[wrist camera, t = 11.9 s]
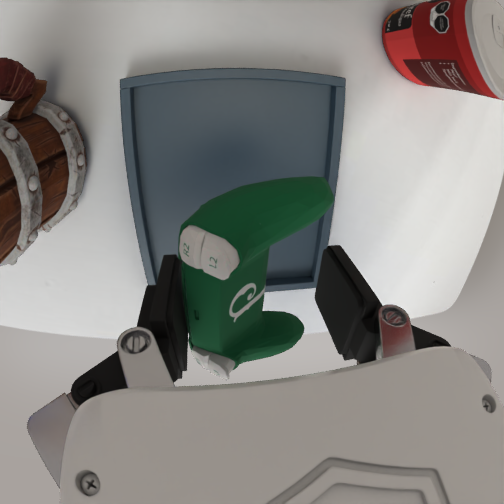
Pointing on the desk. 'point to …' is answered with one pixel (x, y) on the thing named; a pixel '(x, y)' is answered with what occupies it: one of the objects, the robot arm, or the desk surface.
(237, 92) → the tray
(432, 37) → the canned food
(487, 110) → the desk surface
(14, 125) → the mug
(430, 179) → the desk surface
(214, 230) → the gaming controller
